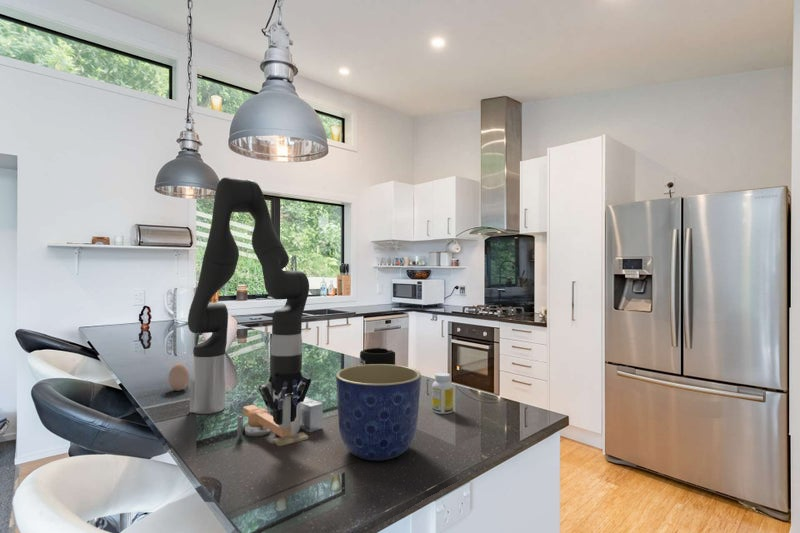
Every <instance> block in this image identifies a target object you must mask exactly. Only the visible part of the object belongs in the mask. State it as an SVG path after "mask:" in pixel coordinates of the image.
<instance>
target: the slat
mask: <svg viewBox="0 0 800 533" xmlns="http://www.w3.org/2000/svg"><path fill="white" fill-rule="evenodd" d="M305 440H309V435H307V434H306V433H305V432H304V431H301V432H300V431H299V432H298V433H296V434H292V435H289V436H285V437H281V436H279V437H277V438H276V437H275V438H273V440H272V441H273V443H274V444H275V445H276V446H278V447H281V446H285V445H290V444H293V443H298V442H302V441H305Z"/></svg>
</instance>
